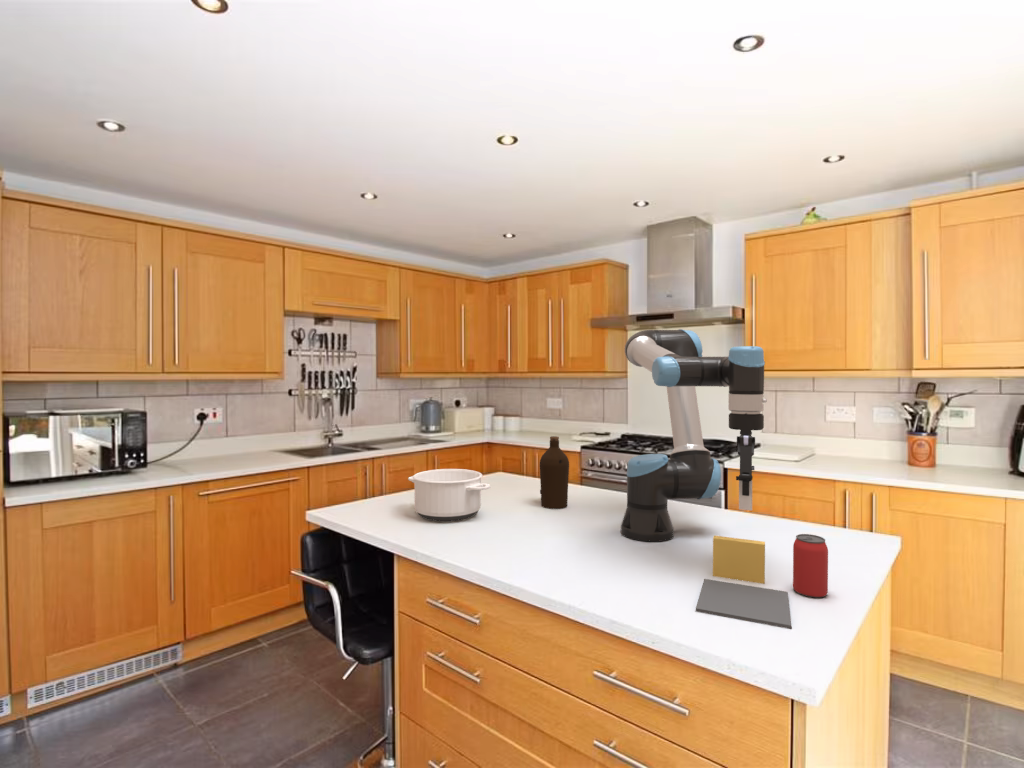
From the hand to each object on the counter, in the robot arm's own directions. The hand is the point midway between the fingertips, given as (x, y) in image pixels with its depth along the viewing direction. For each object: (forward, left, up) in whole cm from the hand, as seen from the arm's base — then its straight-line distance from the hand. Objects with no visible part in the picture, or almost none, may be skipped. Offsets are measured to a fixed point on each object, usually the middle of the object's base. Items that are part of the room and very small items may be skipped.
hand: (745, 503), depth 124 cm
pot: (-92, +16, -18) cm, 95 cm away
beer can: (+13, -4, -18) cm, 22 cm away
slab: (-1, -2, -17) cm, 18 cm away
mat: (0, -16, -17) cm, 23 cm away
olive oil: (-64, +43, -18) cm, 79 cm away
